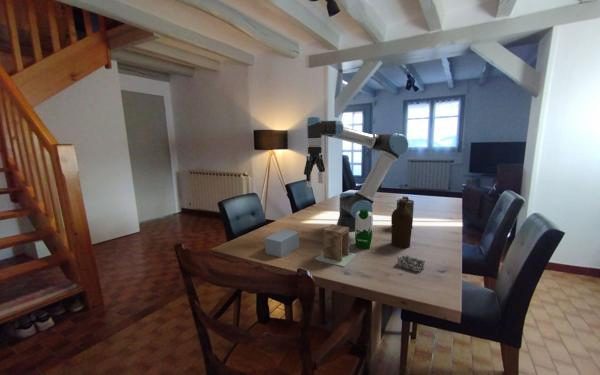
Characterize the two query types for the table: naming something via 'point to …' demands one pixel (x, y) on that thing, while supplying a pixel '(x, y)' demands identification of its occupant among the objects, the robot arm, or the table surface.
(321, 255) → the mat
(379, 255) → the table surface
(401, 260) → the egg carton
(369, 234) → the milk carton
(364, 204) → the robot arm
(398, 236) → the olive oil
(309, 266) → the table surface
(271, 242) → the blue-grey rectangular block
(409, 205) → the canister
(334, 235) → the grooved wooden block
